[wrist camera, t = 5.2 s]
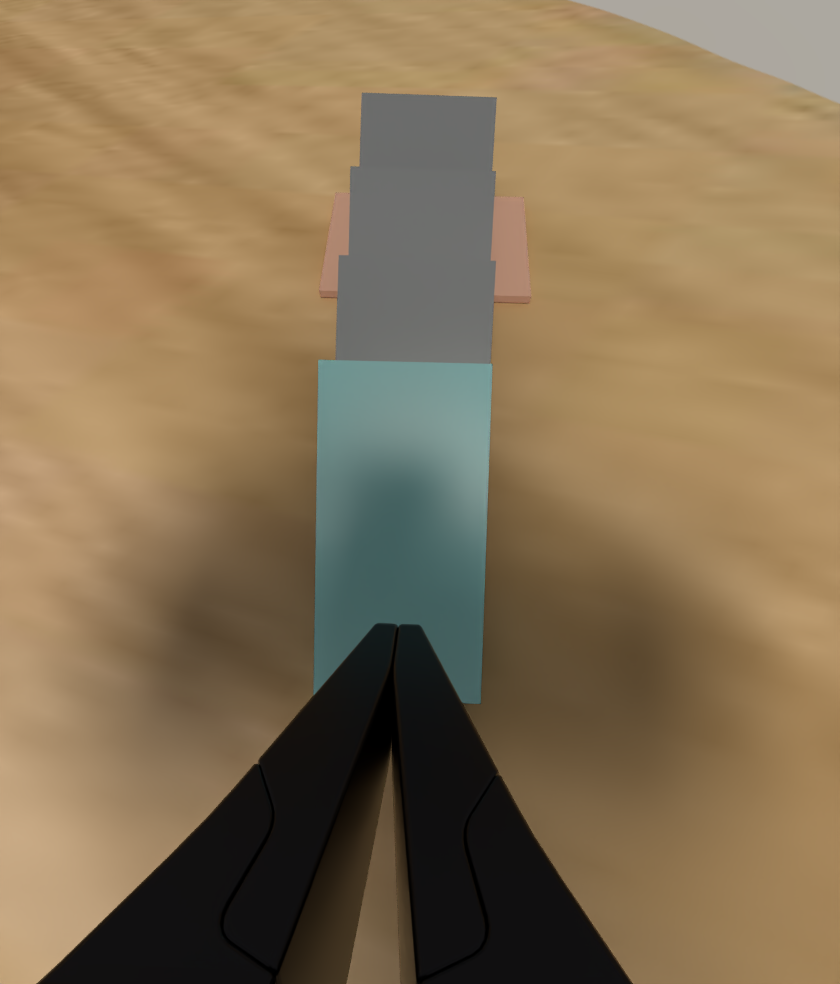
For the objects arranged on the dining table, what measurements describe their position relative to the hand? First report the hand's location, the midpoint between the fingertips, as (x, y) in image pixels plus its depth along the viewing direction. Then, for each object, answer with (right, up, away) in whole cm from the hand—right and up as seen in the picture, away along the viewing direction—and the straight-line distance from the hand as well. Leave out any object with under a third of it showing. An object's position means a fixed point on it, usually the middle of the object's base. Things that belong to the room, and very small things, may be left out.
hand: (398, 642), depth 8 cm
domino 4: (0, -3, +6) cm, 7 cm away
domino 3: (0, 0, +7) cm, 7 cm away
